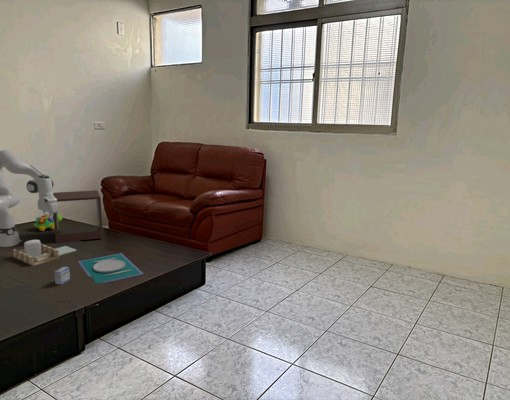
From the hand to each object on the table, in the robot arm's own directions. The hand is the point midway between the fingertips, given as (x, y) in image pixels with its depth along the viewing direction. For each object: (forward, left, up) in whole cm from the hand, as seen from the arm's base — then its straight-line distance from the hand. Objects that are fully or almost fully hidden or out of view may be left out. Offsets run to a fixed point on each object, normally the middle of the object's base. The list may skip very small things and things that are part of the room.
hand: (48, 217), depth 271 cm
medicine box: (+53, -22, -28) cm, 64 cm away
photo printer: (-4, -11, -28) cm, 30 cm away
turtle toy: (-64, +33, -28) cm, 77 cm away
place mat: (+55, +9, -29) cm, 63 cm away
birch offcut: (+8, -11, -26) cm, 30 cm away
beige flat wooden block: (+8, -11, -28) cm, 31 cm away
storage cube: (-24, +37, -28) cm, 52 cm away
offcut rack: (0, -11, -28) cm, 30 cm away
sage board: (+2, +7, -28) cm, 29 cm away
